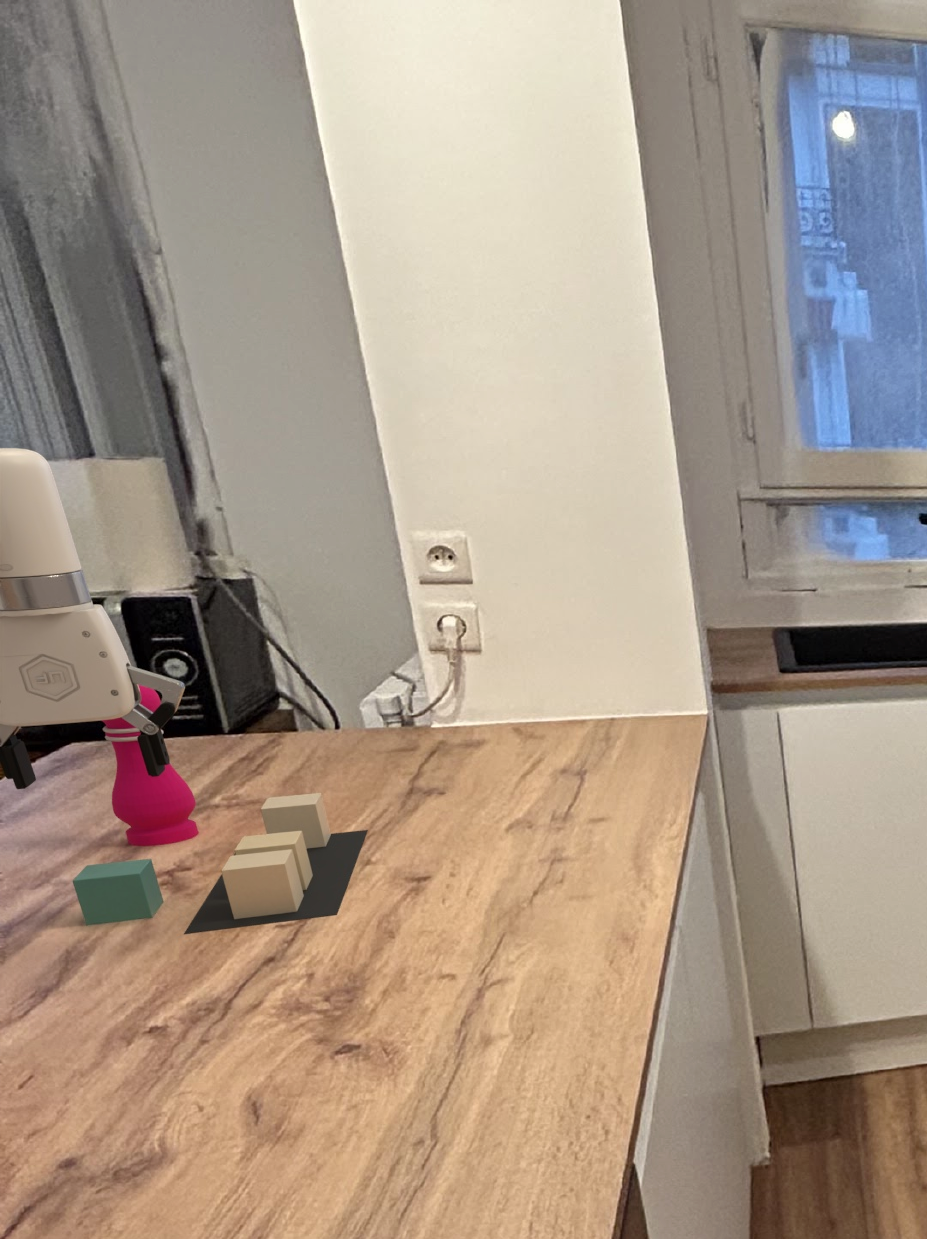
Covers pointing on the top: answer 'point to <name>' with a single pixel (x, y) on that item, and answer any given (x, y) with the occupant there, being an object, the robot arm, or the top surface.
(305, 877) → the cream block
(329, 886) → the mat
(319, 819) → the cream block
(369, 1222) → the top surface
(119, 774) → the pepper mill
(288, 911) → the cream block
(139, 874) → the teal block
